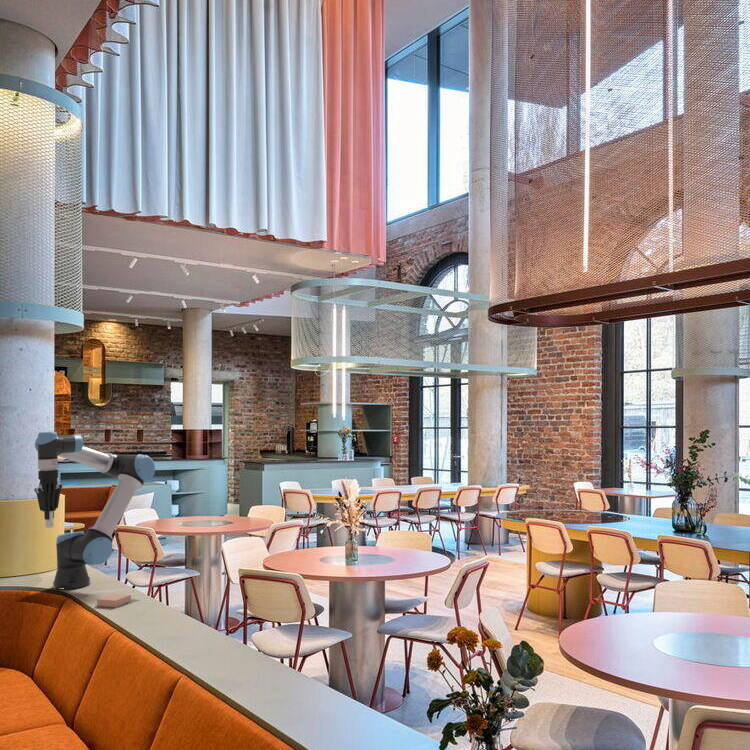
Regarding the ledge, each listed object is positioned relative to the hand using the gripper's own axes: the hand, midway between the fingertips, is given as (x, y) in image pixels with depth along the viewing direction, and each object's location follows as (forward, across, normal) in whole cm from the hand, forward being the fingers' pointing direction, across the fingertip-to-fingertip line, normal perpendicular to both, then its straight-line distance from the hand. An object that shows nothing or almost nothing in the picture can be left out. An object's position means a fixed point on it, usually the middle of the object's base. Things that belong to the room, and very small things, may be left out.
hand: (49, 527), depth 324 cm
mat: (+29, +1, -33) cm, 44 cm away
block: (+27, +4, -33) cm, 43 cm away
